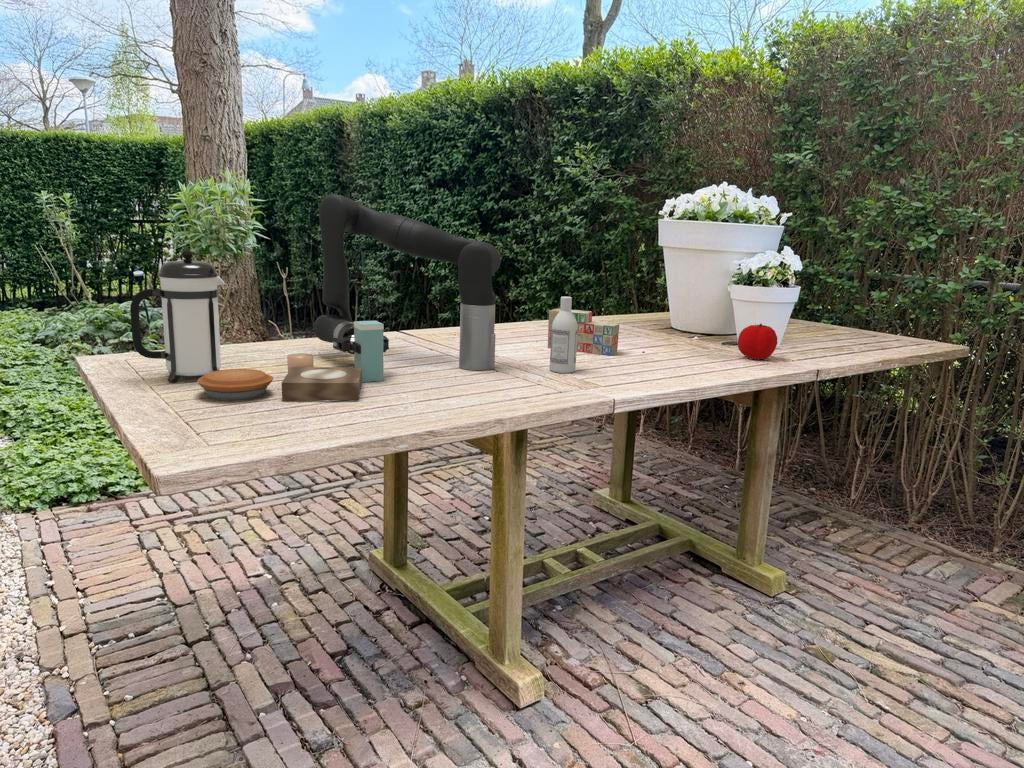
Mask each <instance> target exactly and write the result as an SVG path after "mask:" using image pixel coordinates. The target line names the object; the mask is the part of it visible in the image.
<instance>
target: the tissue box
mask: <svg viewBox="0 0 1024 768" xmlns="http://www.w3.org/2000/svg"><path fill="white" fill-rule="evenodd" d="M362 385H363V383H362V368H355V367H344V366H343V367H333V366H332V367H331V366H329V367H326V366H325V367H323V366H322V367H318V366H317V367H315V366H314V367H292V368H291V369H290V371H289V372H288V371H287V374H286V375H285V377H284V378H283V380H282V381H281V401H282V402H316V401H315V400H360V396H361V391H360V390H361V389H362ZM359 395H360V396H359ZM309 400H310V401H309Z"/></svg>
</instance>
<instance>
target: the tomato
mask: <svg viewBox="0 0 1024 768" xmlns="http://www.w3.org/2000/svg"><path fill="white" fill-rule="evenodd" d="M777 345H778V336H777V333H776V330H775V329H773V328H772V327H771V326H769V325H764V324H763V323H759V324H756V323H754V324H751V325H748V326H746V327H744V328H742V329H741V331H740V333H739V335H738V339H737V347H738V350H739V352H740V354H742V355H743V356H745V357H746V358H748V359H752V358H753V360H757V359H763V360H766V359H769V358H770V357H771V356H772V354H774V352H775V351H776V348H777Z"/></svg>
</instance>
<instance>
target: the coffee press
mask: <svg viewBox="0 0 1024 768" xmlns="http://www.w3.org/2000/svg"><path fill="white" fill-rule="evenodd" d="M193 255H194V254H193V252H192V250H189V249H184V250H182V252H181V257H182V258H184V259H183V260H172V261H168V262H165V263H163V264H162V265H161V266H160V267H159V268H160V269H159V271H157V276H158V278H159V280H160V288H159V289H157V288H156V289H154V288H153V289H152V288H147V289H144V290H140V291H139V292H137V293H136V294H135V295H134V296H133V298H132V300H131V303H130V309H129V311H130V323H131V324H130V327H131V328H130V329H131V336H132V343H133V347H134V349H135V350H136V352H137V353H138V354H139V355H141V356H142V357H144V358H147V359H153V360H155V359H156V360H159V359H160V360H161V359H162V360H165V366H166V369H167V371H168V373H169V375H168V377H167V382H168V383H173V384H176V383H177V382H178V380H179V379H180V378H181V377H193V376H194V377H196V376H197V377H198V376H199V377H200V376H204V375H206V374H208V373H210V372H214V371H218V370H221V367H222V356H221V335H220V334H221V332H220V318H219V301H218V300H219V298H218V297H219V294H220V293H219V288H218V286H225V285H226V283H225V282H224V279H222V278H221V277H220V276H219V272H217V270H216V268H215V266H214V265H213V264H211V263H209V262H206V261H202V260H201V261H200V260H192V258H193ZM152 297H160V298H161V311H162V324H163V327H162V328H163V336H164V337H163V339H164V340H163V341H164V350H160V351H159V350H154V351H153V350H148V349H147V348H145V346H144V345H143V343H142V336H141V332H142V331H141V323H140V321H141V319H140V304H141V303H142V301H143V300H144V299H147V298H152Z"/></svg>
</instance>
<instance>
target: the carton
mask: <svg viewBox="0 0 1024 768" xmlns="http://www.w3.org/2000/svg"><path fill="white" fill-rule="evenodd" d="M353 323H354V341H355V342H356V343H358V344H360V345H361V354H357V353H356V352H354V354H353V355H354V368H362V382H363V383H368V382H367V381H376V382H384V352H383V336H384V330H385V329H384V328H385V327H384V325H385V324H384V323H383V322H379V321H378V320H359V321H353Z"/></svg>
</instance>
